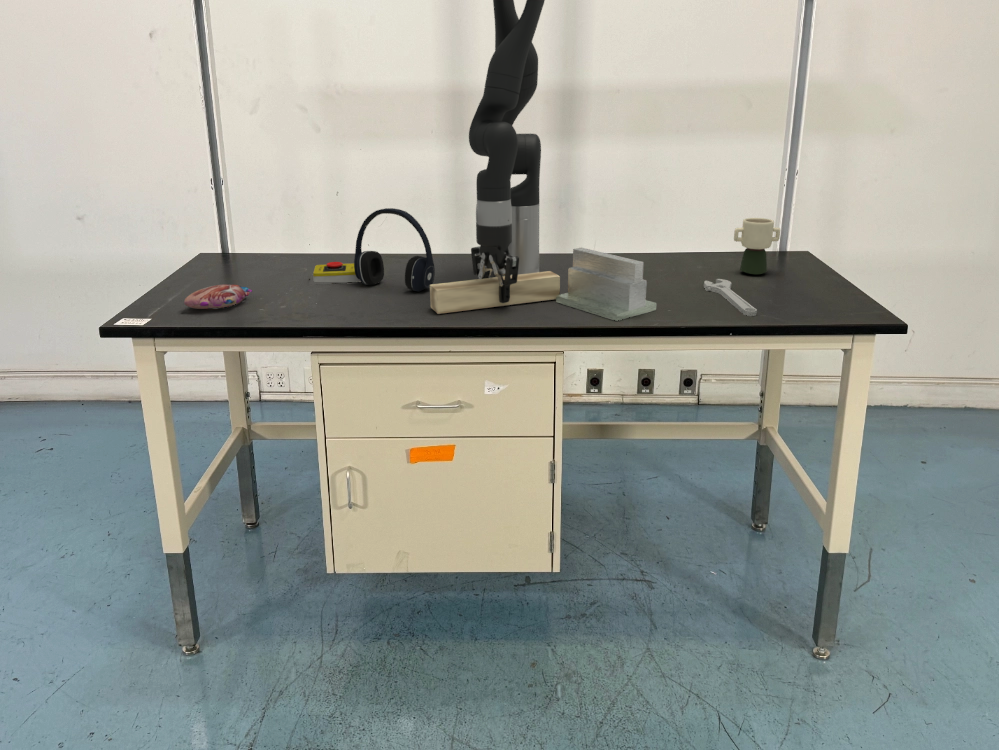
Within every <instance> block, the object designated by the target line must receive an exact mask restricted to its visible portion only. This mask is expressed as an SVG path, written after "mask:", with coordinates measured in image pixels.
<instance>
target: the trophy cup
mask: <svg viewBox="0 0 999 750" xmlns="http://www.w3.org/2000/svg"><path fill="white" fill-rule="evenodd" d="M774 225H775V221H774V220H773V219H770V218H762V217H748V218H744V219H743V221H742V227H736V228H735V229H734V233H733V234H734V235H733V241H734V242H739V243H741V246H742V247H744V248H745V249H744V251H743V255H742V259H741V262H740V268H739V271H741V272H743V273H745V274H746V275H747V274H750V275H762V274H766V273H767V272H768V271H767V269H768V267H767V261H768V260H767V252H766V249H769V248H771V247H772V244H773V242H779V240H780V237H781V228H780V227H775V226H774ZM774 232H775V236H774V237H773V235H774ZM739 233H741V237H739Z"/></svg>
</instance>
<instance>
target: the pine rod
mask: <svg viewBox="0 0 999 750" xmlns="http://www.w3.org/2000/svg"><path fill="white" fill-rule="evenodd" d="M502 276H503V280H505V276H504V275H502ZM510 277H511V278H512V275H511V276H510ZM499 286H500V285H499V281H498V278H497V276H495V277H490V278H484V279H479V278H478V279H469V280H459V281H451V282H442V283H433V284H431V285H430V287H429V297H430V298H429V299H430V302H429V303H430V308H431V309H432V310H433V311H434V312H435V313H436V314H437V315H440V314H447V313H457V312H462V311H463V312H464V311H471V310H479V309H488V308H494V307H504V306H510V305H511V306H512V305H520V304H526V303H535V302H541V301H542V302H543V301H551V300H556V295H560V291H561V288H560V287H561V276H560V275H558V274H557V273H555V272H553V271H551V270H548V271H546V270H545V271H539V272H537V273H529V274H520V275H518V277H517V283H515V284H511V285H510V299H509V302H506V303H500V302H499Z"/></svg>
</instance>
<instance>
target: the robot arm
mask: <svg viewBox="0 0 999 750" xmlns="http://www.w3.org/2000/svg"><path fill="white" fill-rule="evenodd" d="M545 1H546V0H526V1H525V4H524V8H523V10H522V13H521V15H520V17H519V16H518V14H517V11H516V6H515V0H492V5H493V14H494V15H493V16H494V17H493V18H494V33H495V34H494V35H495V36H494V52H493V54H492V56H491V57H490V60H489V63H488V67H487V71H486V77H485V84H484V88H483V95H482V98H481V100H480V102H479V103H478V106H477V108H476V111H475V113H474V116H473V118H472V121H471V123H470V125H469V126H470V127H469V130H468V143H469V146H470V149H471V150H472V152H473V153H474V154H476V155H478V156H480V157H481V156H482V157H488V159H487V160H488V161H487V165H486V169H482V170H480V171H478V172H477V175H476V207H475V236H476V237H475V238H476V239H475V240H476V243H477V245H479V246H474V247H470V252H471V253H470V254H471V261H472V263H471V264H472V271H473V272H472V273H473V275H474V276H477V278H478V279H484V278H491V275H492V272H493V274H494V276H495V277H497V278H498V281H499V285H500V286H499V302H500V303H506V302H509V299H510V285H511V284H515V283H517V277H518V275H520V274H529V273H537V272H540V176H541V174H540V173H541V162H542V161H541V160H542V159H541V158H542V144H541V139H540V137H539V136H538V134H537V133H517V131H516V129H515V127H514V123H515V121H516V120H517V118H518V116H519V115H520V114H521V112H522V111H523V110H524V109H525V108H526V106H527V105H528V103H529V102H530V101H531V99H532V98H533V96H534V94H535V92H536V90H537V87H538V80H539V79H538V76H539V54H538V52H537V50H536V48H535V45H534V43H533V39H534V36H535V34H536V30H537V27H538V24H539V21H540V18H541V14H542V10H543V7H544V5H545ZM512 175H526V177H525V178H524V180H523V181H521V182H520V183H518V184H517V185H514V186H513V187H511V183H512V181H511V179H512ZM478 264H479V266H478ZM511 275H512V278H511V277H510V276H511ZM503 276H505V280H503Z"/></svg>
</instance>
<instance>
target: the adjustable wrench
mask: <svg viewBox="0 0 999 750" xmlns="http://www.w3.org/2000/svg"><path fill="white" fill-rule="evenodd" d="M704 288H705V289H704ZM731 288H732V282H731V281H730V280H727V279H724V278H723V279H722V278H716V279H715V283H714V282H712V281H709V280H704V282H703V289H704V290H706V292H713V293H717V294H719V295H721V296H722V297H723V298H724V299H725V300H726V299H727V300H726V301H728V302H729V303H730V304H731V305H732V306H733V307H734V308H735V309H736V310H738V311H739V312H740V313H741V314H742V313H743V314H742V315H743V316H746V315H747V316H746V317H756V316H757V312H758V309H757V308H755V307H754V306H752V305H751V304H750V303H749V302H748V301H746V300H745V299H743V298H742V297H741V296H740V295H738V294H737V293H736V292H734V291H733V290H732V289H731Z"/></svg>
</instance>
